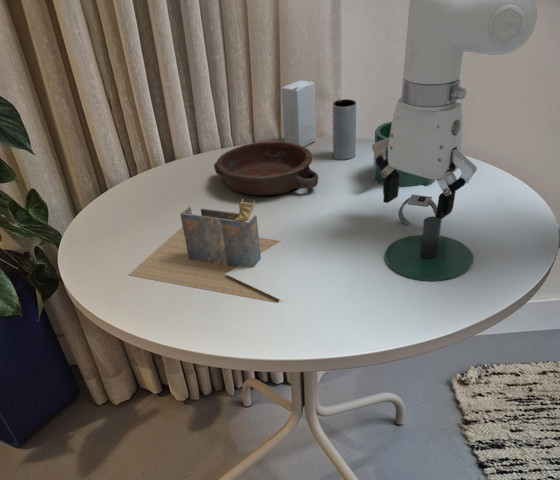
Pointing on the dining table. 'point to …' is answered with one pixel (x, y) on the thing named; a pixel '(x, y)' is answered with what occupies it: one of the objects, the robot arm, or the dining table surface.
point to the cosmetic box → (299, 113)
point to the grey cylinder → (344, 129)
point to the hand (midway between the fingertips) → (416, 207)
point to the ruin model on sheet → (210, 252)
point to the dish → (267, 168)
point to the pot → (405, 177)
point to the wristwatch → (417, 201)
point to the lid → (429, 255)
